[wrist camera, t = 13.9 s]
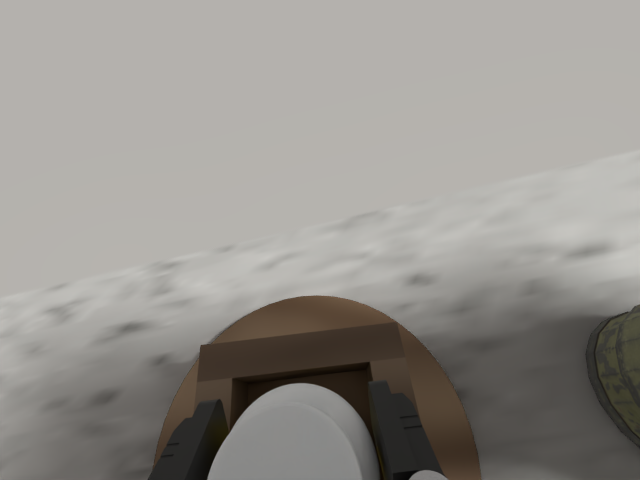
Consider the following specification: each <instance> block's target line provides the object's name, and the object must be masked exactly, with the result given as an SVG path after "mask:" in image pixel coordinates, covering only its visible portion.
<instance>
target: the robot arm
mask: <svg viewBox="0 0 640 480" xmlns="http://www.w3.org/2000/svg"><path fill="white" fill-rule="evenodd" d="M368 396H369V407H370V417H371V423H372V429H373V434H374V438H375V442H376V446H377V451H378V455H379V459H380V464H381V468H382V472H383V476H384V480H448V479H447V477H446V476H445V475H444V473H443V471H442V469H441V467H440V465H439V463H438V460H437V458H436V456H435V454H434V451H433V449H432V447H431V444H430V442H429V440H428V437H427V435H426V433H425V430H424V428H423V427H422V423H421V421H420V419H419V417H418V414H417V412H416V410H415V407H414V405H413V403H412V402H411V401H410V400H409V399H408V398H407V397H406V396H405V395H404V394H403V393H395V394H391V391H390V388H389V386H388V383H387V381H386V380H379V381H370V382H368ZM228 435H229V429H228V425H227V421H226V416H225V412H224V408H223V403H222V401H221V400H220V399H216V400H208V401H201V402H199V404H198V405H197V408H196V410H195V412H194V414H193V416H192V417H190V418H185V419H184V420H183V421H182V422H181V423H180V424H179V425H178V427H177V428H176V429H175V430H174V431H173V433H172V435H171V437H170V439H169V441H168V442H167V446H166V447H165V448H164V450H163V452H162V454H161V456H160V459H158V461H157V463H156V465H155V467H154V469H153V471H152V473H151V475H150V477H149V478H148V480H207V479H208V475H209V472H210V469H211V466H212V463H213V461H214V459H215V457H216V454H217V452H218V451H219V449H220V447H221V445H222V443H223V442H224V440H225V439H226V437H227V436H228Z"/></svg>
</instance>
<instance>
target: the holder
mask: <svg viewBox="0 0 640 480" xmlns="http://www.w3.org/2000/svg"><path fill="white" fill-rule="evenodd" d="M379 380H386V381H387V383H388V386H389V388H390V391H391V394H395V393H403V394H404V395H405V396H406V397H407V398H408V399H409V400H410V401H411V402H412V403H413V405H414V407H415V410H416V412H417V414H418V417H419V419H420V421H421V423H422V427H423V428H424V430H425V433H426V435H427V437H428V440H429V442H430V444H431V447H432V449H433V451H434V454H435V456H436V458H437V460H438V463H439V465H440V467H441V469H442V471H443V473H444V475H445V476H446V477H447V479H448V480H482V479H481V472H480V466H479V459H478V453H477V449H476V446H475V442H474V438H473V434H472V430H471V427H470V424H469V422H468V419H467V416H466V414H465V411H464V408H463V406H462V403H461V401H460V399H459V397H458V395H457V393H456V391H455V389H454V387H453V385H452V383H451V382H450V380H449V379H448V377H447V376H446V374H445V372H444V371H443V369H442V368H441V366H440V365H439V363H438V362H437V361H436V360H435V358H434V357H433V356H432V355H431V353H430V352H429V351H428V350H427V348H426V347H425V346H424V345H423V344H422V343H421V342H420V341H419V340H418V339H417V338H416V337H415V336H414V335H413V334H412V333H410V332H409V331H408V330H407V329H405V328H404V327H403V326H402V325H400V324H399V323H398V322H396V321H395V320H393V319H391V318H390V317H388V316H387V315H385V314H384V313H382V312H380V311H378V310H375V309H373V308H371V307H369V306H367V305H364V304H361V303H358V302H355V301H352V300H348V299H343V298H338V297H331V296H301V297H296V298H290V299H285V300H282V301H279V302H275V303H272V304H269V305H267V306H265V307H262V308H260V309H258V310H256V311H253V312H252V313H250V314H248V315H247V316H245V317H243V318H242V319H240V320H238V321H237V322H236V323H235V324H233V325H232V326H231V327H229V328H228V329H227V330H225V331H224V332H223V333H222V334H221V335H220V336H219V337H218V338H217V339H216V340H215V341H214V342H213V343H211V344H207V345H201V347H200V356H199V359H198V360H197V361H196V363H195V364H194V365H193V367H192V368H191V370H190V371H189V373H188V374H187V376H186V377H185V379H184V381H183V383H182V384H181V386H180V388H179V390H178V392H177V394H176V395H175V397H174V400H173V402H172V404H171V407H170V409H169V412H168V414H167V416H166V419H165V422H164V425H163V428H162V432H161V435H160V438H159V441H158V446H157V450H156V455H155V460H154V465H153V469H154V467H155V465H156V463H157V461H158V459H160V456H161V454H162V452H163V450H164V448H165V447H166V446H167V442H168V441H169V439H170V437H171V435H172V433H173V431H174V430H175V429H176V428H177V427H178V425H179V424H180V423H181V422H182V421H183V420H184V419H185V418H190V417H192V416H193V414H194V412H195V410H196V408H197V405H198V404H199V402H201V401H208V400H216V399H220V400H221V401H222V403H223V408H224V412H225V416H226V421H227V425H228V429H229V433H230V432H231V430H232V428H233V426H234V425H235V423H236V422H237V420H238V419H239V417H240V416H241V415H242V414H243V412H244V411H245V410H246V409H247V408H248V407H249V406H250V405H251V404H252V403H253V402H254V401H256V400H257V399H258V398H259V397H261V396H262V395H264V394H266V393H267V392H269V391H271V390H273V389H275V388H278V387H281V386H284V385H288V384H296V383H307V384H314V385H318V386H321V387H324V388H326V389H329V390H331V391H333V392H335V393H336V394H338V395H339V396H341V397H342V398H343V399H344V400H346V401H347V402H348V403H349V404H350V405H351V406H352V407H353V408H354V409H355V411H356V412H357V413H358V414H359V416H360V417H361V419H362V420H363V421H364V423H365V425H366V427H367V429H368V431H369V433H370V436H371V438H372V440H373V443H374V446H375V450H376V454H377V458H378V463H379V470H380V480H384V476H383V472H382V468H381V464H380V459H379V455H378V451H377V446H376V442H375V438H374V434H373V429H372V423H371V417H370V407H369V396H368V382H370V381H379Z"/></svg>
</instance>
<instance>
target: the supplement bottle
mask: <svg viewBox="0 0 640 480" xmlns="http://www.w3.org/2000/svg"><path fill="white" fill-rule="evenodd" d="M207 480H380V470H379V463H378V458H377V454H376V450H375V446H374V443H373V440H372V438H371V436H370V433H369V431H368V429H367V427H366V425H365V423H364V421H363V420H362V419H361V417H360V416H359V414H358V413H357V412H356V411H355V409H354V408H353V407H352V406H351V405H350V404H349V403H348V402H347V401H346V400H344V399H343V398H342V397H341V396H339V395H338V394H336V393H335V392H333V391H331V390H329V389H326V388H324V387H321V386H318V385H314V384H307V383H296V384H288V385H284V386H281V387H278V388H275V389H273V390H271V391H269V392H267V393H266V394H264V395H262V396H261V397H259V398H258V399H257V400H256V401H254V402H253V403H252V404H251V405H250V406H249V407H248V408H247V409H246V410H245V411H244V412H243V414H242V415H241V416H240V417H239V419H238V420H237V422H236V423H235V425H234V426H233V428H232V430H231V432H230V433H229V435H228V436H227V437H226V439H225V440H224V442H223V443H222V445H221V447H220V449H219V451H218V452H217V454H216V457H215V459H214V461H213V463H212V466H211V469H210V472H209V475H208V479H207Z"/></svg>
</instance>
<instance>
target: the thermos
mask: <svg viewBox="0 0 640 480" xmlns="http://www.w3.org/2000/svg"><path fill="white" fill-rule="evenodd" d="M586 359H587V366H588V373H589V379H590V381H591V383H592V385H593V387H594V390H595V392H596V394H597V396H598V399H599V401H600V403H601V405H602V406H603V408H604V409H605V410H606V412H607V413H608V414H609V416H610V417H611V418H612V420H613V421H614V422H615V424H616V425H617V426H618V428H619V429H620V430H621V431H622V432H623V433H624V434H625V435H626V436H627V437H628V438H629V439H630V440H632V441H633V442H634V443H635V444H636V445H637V446H638V447H639V448H640V305H637V306H635V307H634V308H633V309H632V310H631V312H625V313H623V314H620V315H617V316H615V317H613V318H610V319H608V320H605V321H603V322H602V323H601V324H600V325H599V326H598V327H597V328H596V329H595V331H594V332H593V333H592V334H591V335H590V339H589V343H588V347H587V351H586Z"/></svg>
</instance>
